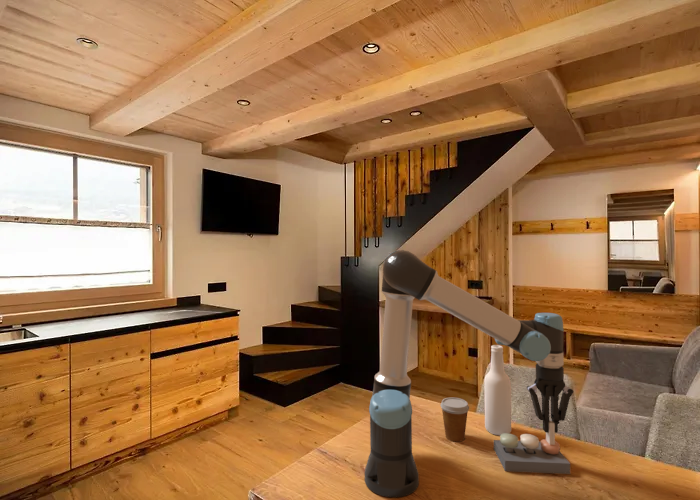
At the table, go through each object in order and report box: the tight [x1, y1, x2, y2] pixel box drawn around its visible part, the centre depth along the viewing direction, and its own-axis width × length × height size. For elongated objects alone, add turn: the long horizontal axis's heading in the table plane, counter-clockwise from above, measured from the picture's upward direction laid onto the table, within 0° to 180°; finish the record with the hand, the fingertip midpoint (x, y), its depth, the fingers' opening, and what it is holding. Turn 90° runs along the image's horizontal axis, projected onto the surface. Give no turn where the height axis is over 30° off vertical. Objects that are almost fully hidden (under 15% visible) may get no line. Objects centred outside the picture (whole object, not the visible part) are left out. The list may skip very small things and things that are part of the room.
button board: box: [493, 439, 571, 475], centre depth 115 cm, size 18×12×3 cm, turn 84°
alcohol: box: [483, 344, 512, 437], centre depth 134 cm, size 9×9×30 cm
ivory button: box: [519, 433, 540, 454], centre depth 115 cm, size 5×5×5 cm
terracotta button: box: [540, 438, 561, 455], centre depth 114 cm, size 5×5×5 cm
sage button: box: [499, 433, 519, 453], centre depth 115 cm, size 5×5×5 cm
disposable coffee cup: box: [440, 397, 470, 442], centre depth 129 cm, size 10×10×12 cm
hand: (550, 442), depth 114 cm, fingers closed
